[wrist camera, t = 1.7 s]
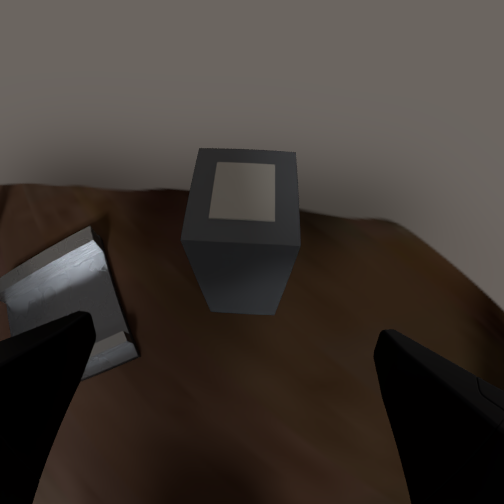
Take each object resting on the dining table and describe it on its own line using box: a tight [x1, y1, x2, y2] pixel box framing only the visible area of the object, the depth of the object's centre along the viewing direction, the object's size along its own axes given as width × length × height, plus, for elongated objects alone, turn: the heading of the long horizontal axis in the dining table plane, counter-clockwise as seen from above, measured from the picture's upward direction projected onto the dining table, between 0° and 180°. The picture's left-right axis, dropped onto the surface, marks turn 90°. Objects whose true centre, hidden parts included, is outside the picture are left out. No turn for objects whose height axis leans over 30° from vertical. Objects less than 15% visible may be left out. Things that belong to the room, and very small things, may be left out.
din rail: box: [0, 226, 141, 382], centre depth 19 cm, size 11×12×3 cm
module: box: [181, 148, 301, 315], centre depth 17 cm, size 5×5×11 cm
